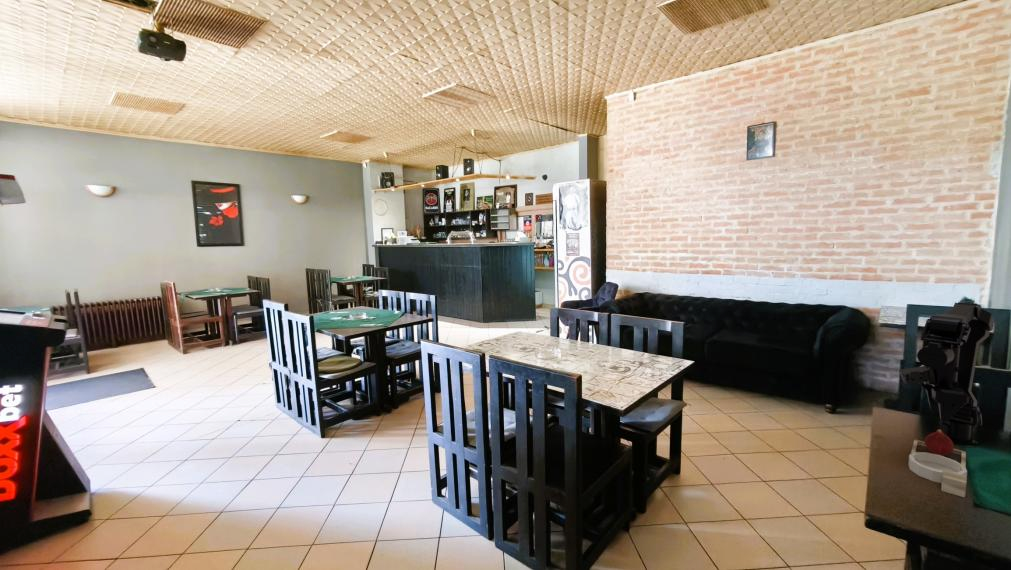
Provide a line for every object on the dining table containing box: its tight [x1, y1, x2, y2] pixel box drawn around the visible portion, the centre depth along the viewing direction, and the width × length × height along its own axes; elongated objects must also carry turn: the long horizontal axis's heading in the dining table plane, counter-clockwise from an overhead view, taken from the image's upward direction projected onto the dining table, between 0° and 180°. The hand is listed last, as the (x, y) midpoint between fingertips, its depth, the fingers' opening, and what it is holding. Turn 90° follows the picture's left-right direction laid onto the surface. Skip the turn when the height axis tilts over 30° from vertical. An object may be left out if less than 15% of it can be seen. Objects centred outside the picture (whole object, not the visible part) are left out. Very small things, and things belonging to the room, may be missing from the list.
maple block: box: [940, 470, 967, 498], centre depth 105 cm, size 4×4×4 cm
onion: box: [924, 428, 955, 457], centre depth 120 cm, size 6×6×8 cm
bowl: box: [908, 451, 968, 484], centre depth 112 cm, size 11×11×3 cm
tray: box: [910, 438, 967, 469], centre depth 120 cm, size 11×11×1 cm
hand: (938, 415), depth 117 cm, fingers open, 9 cm apart
